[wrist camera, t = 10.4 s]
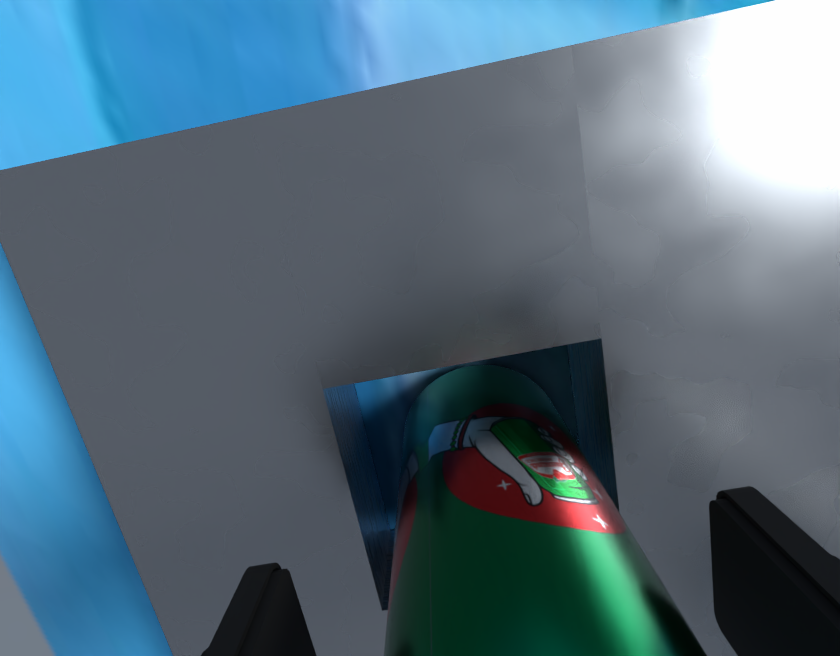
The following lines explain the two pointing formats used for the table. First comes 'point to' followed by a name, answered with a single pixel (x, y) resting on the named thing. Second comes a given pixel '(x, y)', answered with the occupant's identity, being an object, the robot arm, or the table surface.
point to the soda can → (514, 536)
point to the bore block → (454, 301)
